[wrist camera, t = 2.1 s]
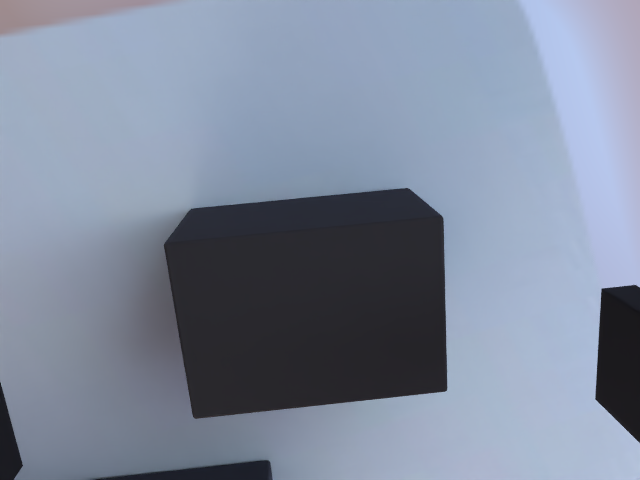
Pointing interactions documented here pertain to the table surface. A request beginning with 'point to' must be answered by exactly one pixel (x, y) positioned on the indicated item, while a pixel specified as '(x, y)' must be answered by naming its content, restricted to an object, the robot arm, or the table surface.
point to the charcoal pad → (211, 473)
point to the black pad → (309, 301)
